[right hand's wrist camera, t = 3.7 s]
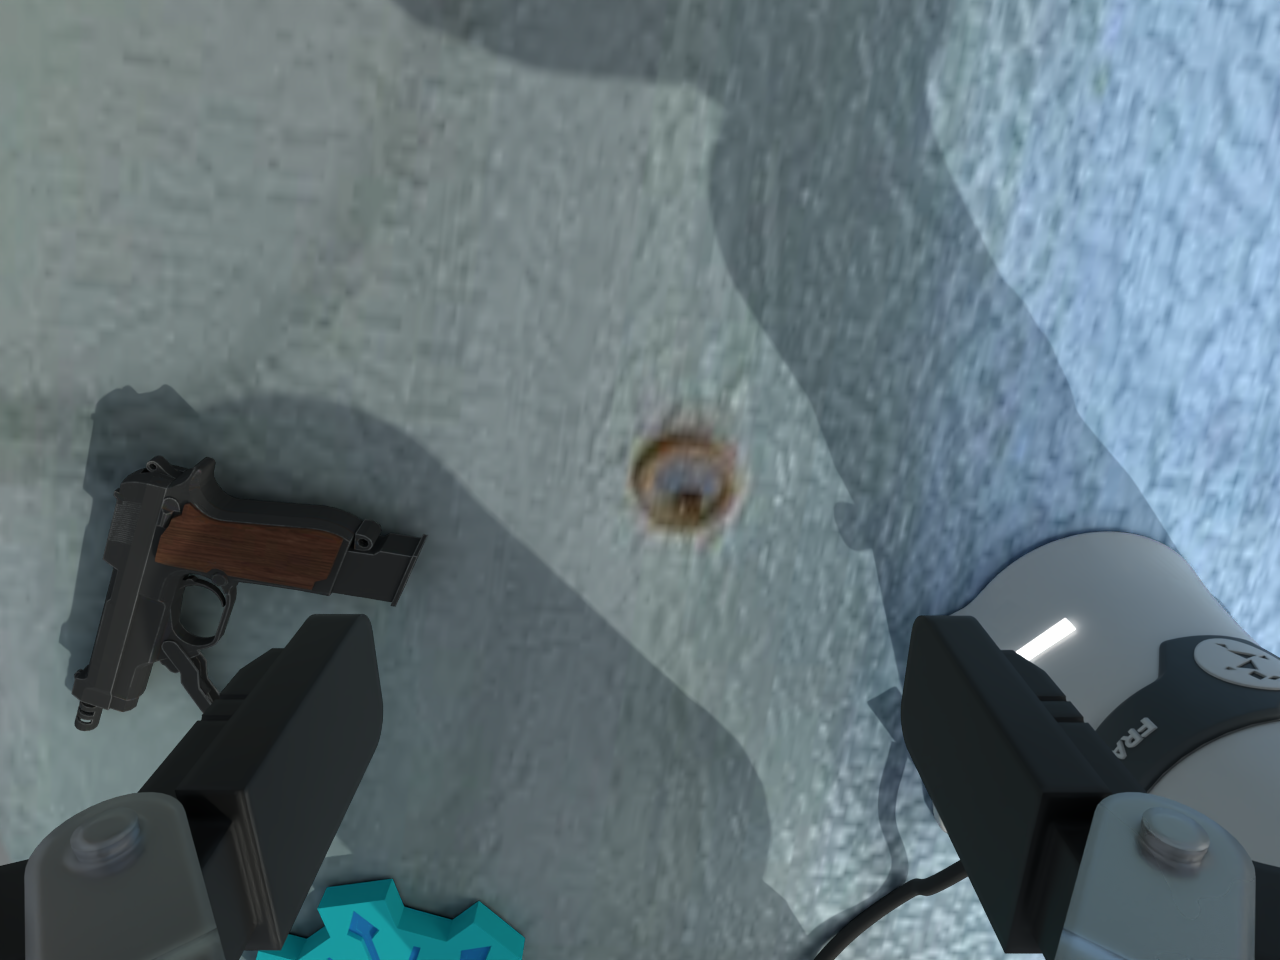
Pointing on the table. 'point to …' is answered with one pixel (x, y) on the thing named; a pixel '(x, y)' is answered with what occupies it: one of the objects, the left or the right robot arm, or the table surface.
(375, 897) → the decorative ornament
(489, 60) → the table surface
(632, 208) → the table surface
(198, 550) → the handgun
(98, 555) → the table surface
